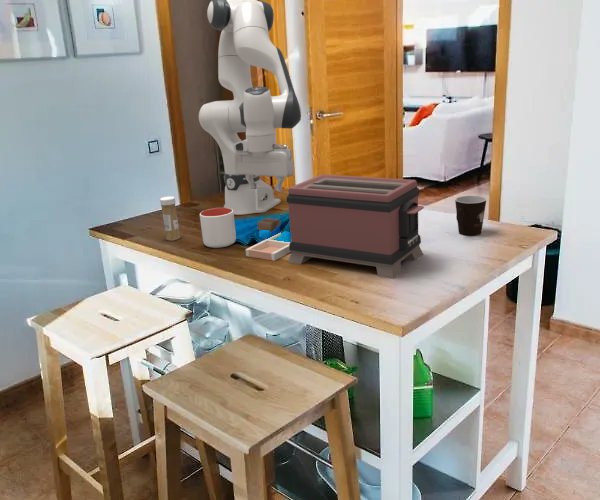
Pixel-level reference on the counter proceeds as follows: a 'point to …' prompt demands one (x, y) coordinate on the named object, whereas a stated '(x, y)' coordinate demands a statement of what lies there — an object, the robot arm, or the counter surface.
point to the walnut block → (268, 224)
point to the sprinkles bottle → (170, 218)
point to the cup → (218, 227)
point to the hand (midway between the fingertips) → (265, 190)
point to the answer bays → (269, 249)
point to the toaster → (355, 221)
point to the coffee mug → (470, 214)
